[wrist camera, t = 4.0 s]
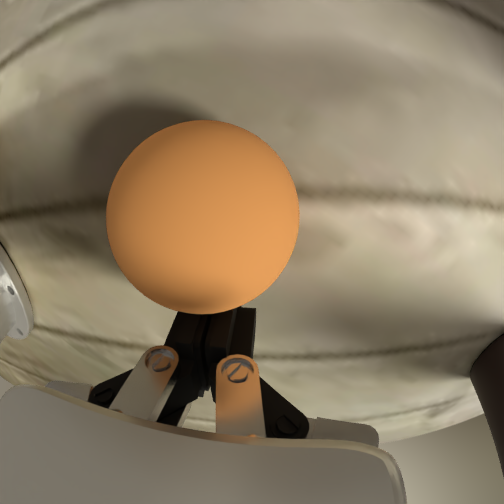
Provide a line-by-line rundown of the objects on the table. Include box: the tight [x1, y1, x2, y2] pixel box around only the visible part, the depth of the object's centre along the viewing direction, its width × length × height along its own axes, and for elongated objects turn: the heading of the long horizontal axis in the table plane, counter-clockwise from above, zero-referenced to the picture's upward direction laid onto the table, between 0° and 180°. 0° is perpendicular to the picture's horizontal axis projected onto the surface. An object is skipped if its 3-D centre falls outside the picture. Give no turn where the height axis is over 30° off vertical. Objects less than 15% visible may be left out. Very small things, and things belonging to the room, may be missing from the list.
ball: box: [106, 120, 299, 314], centre depth 9 cm, size 6×6×6 cm
